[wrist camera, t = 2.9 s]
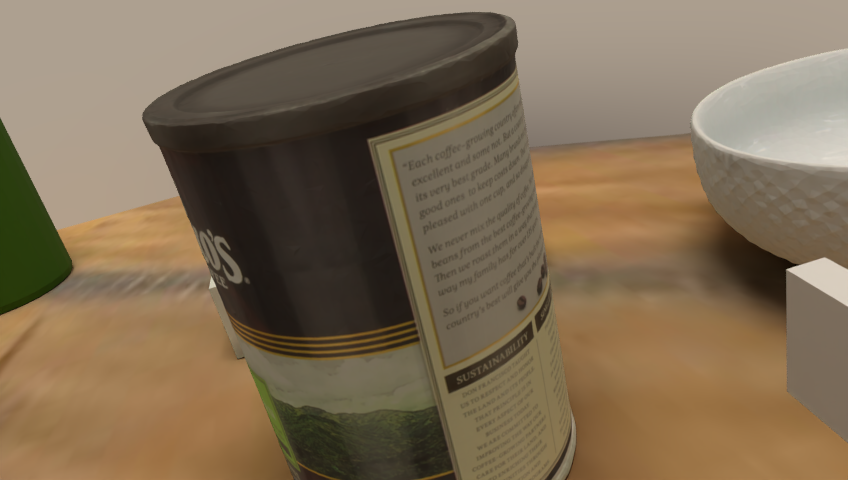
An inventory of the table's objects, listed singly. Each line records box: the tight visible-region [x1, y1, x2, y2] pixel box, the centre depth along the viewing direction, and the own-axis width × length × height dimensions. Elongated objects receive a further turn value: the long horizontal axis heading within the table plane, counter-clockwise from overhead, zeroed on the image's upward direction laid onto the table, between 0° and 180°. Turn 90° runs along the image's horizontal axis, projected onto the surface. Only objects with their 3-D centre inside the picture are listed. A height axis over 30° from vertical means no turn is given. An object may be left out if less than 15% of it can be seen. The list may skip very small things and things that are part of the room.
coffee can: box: [142, 12, 576, 480], centre depth 21 cm, size 10×10×14 cm
